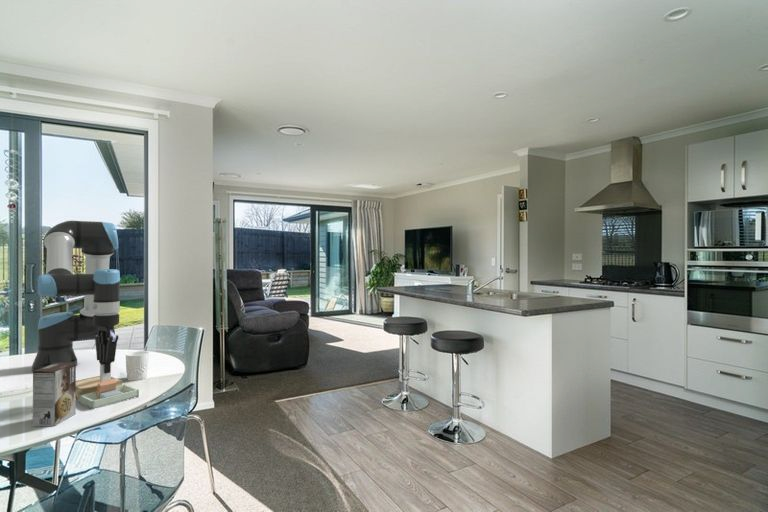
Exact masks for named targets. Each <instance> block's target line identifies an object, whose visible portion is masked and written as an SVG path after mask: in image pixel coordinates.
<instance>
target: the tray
mask: <svg viewBox="0 0 768 512" xmlns="http://www.w3.org/2000/svg"><path fill="white" fill-rule="evenodd" d="M116 390H118V391H120V392H123V393H122V394H118V395H114V396H110V397H106V398H102V399H98V398H97V397H96V392H97V391H95V392H91V393H86V394H82V395H79V400H78V403H79V404H81V405H84V406H85V407H87V408H89V409H91V410H95V408H96V409H100V408H102V407H106V405H107V406H110V405H113V404H118V403H121V402H120V401H122V402H124V401H123V400H125V401H128V400H127V399H129V400H132V399H131V398H133V399H135V398H134V397H136V398H139V397H138V396H140V394H139V393H140V390H139V388H136V387H133V386H130V385H128V384H126V383H125V384H122V385H120V386H116ZM117 402H118V403H117Z"/></svg>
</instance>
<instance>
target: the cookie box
mask: <svg viewBox="0 0 768 512" xmlns="http://www.w3.org/2000/svg"><path fill="white" fill-rule="evenodd" d="M76 370H77V366H76V363H53V364H50V365H48V366H45V367H43V368H40V369H37V370H35V371H32V424H31V425H32V427H56V426H57V425H59V424H60V423H62V422H64V421H66V420H67V419H69V418H71V417H73V416H74V415H76V410H77V408H76V405H77V404H76V402H77V401H76V381H77V379H76V378H77V375H76Z"/></svg>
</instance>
